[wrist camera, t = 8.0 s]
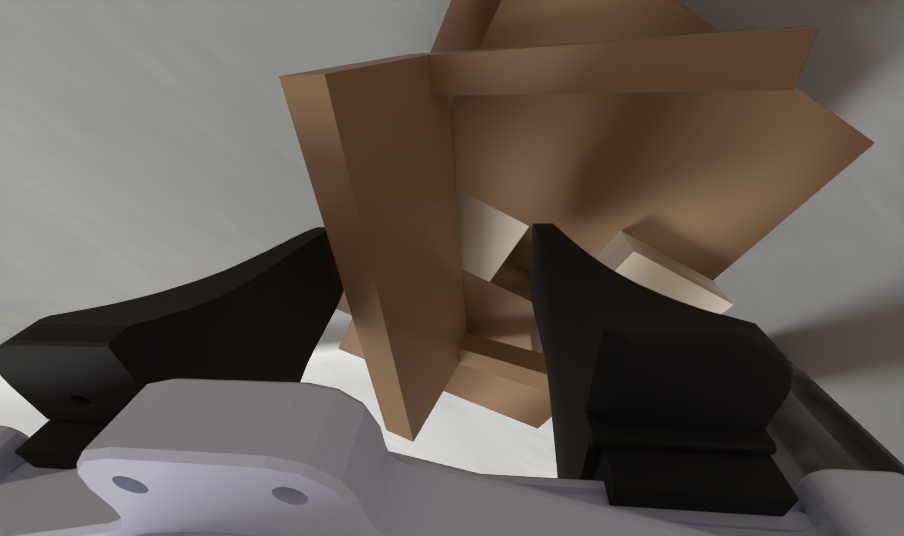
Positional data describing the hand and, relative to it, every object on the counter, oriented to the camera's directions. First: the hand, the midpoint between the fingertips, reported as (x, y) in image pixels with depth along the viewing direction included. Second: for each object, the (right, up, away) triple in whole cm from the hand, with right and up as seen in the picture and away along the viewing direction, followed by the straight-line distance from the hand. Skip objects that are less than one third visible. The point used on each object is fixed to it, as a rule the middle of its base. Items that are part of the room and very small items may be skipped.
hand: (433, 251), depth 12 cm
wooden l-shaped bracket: (+4, 0, 0) cm, 4 cm away
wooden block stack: (+4, +2, +6) cm, 7 cm away
